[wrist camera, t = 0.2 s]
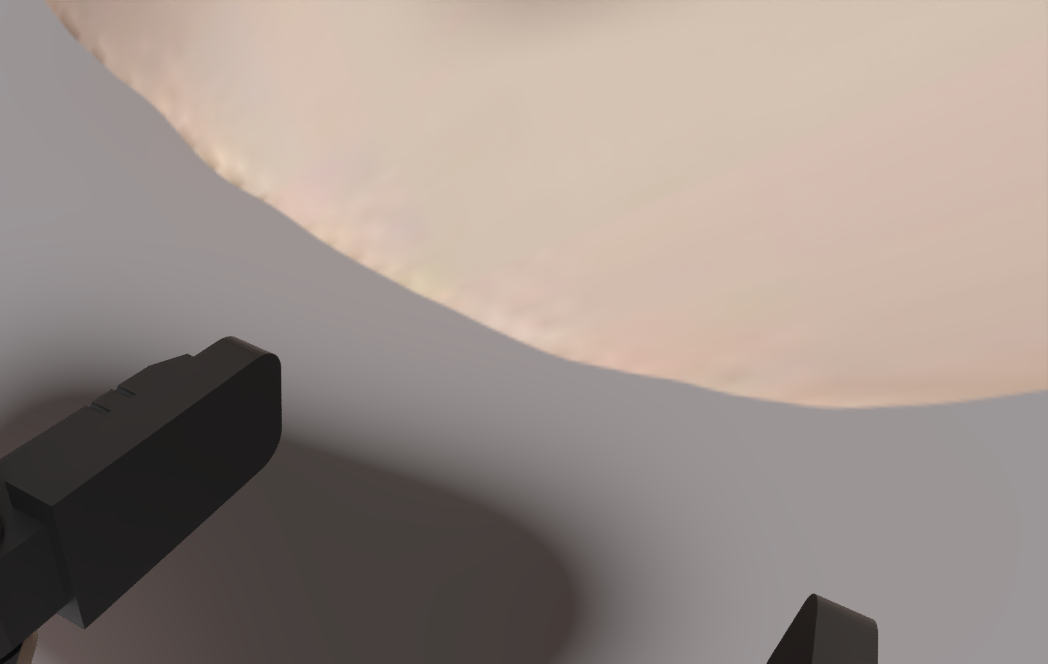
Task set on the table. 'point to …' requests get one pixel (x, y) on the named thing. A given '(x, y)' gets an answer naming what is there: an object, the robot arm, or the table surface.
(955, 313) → the table surface
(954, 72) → the table surface
